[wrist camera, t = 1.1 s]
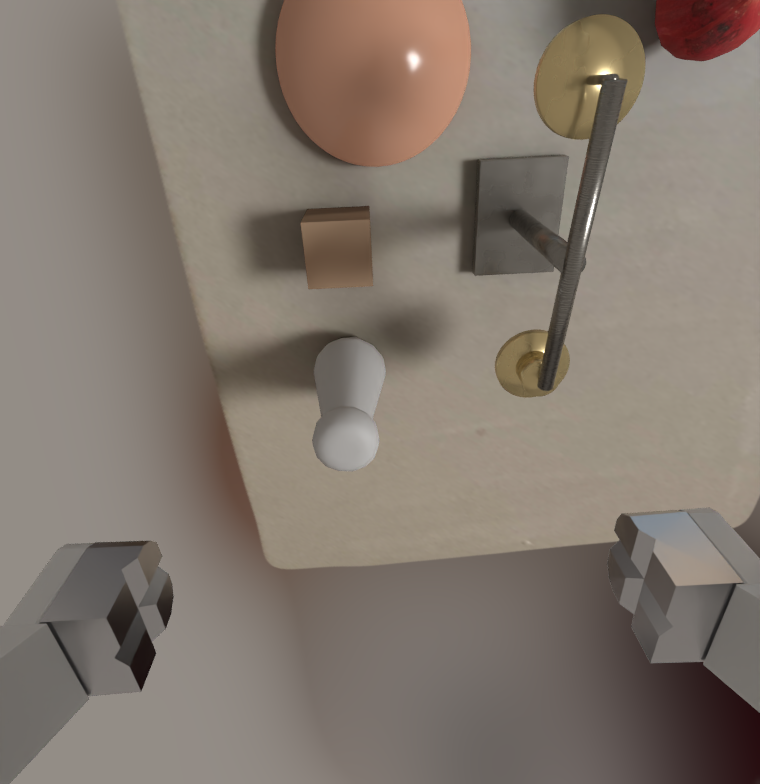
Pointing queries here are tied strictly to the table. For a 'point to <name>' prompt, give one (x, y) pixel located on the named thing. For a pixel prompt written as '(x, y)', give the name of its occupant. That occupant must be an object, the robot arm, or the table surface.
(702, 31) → the onion
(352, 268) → the block
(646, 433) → the table surface
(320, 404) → the salt shaker
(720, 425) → the table surface
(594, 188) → the balance
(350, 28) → the dish
